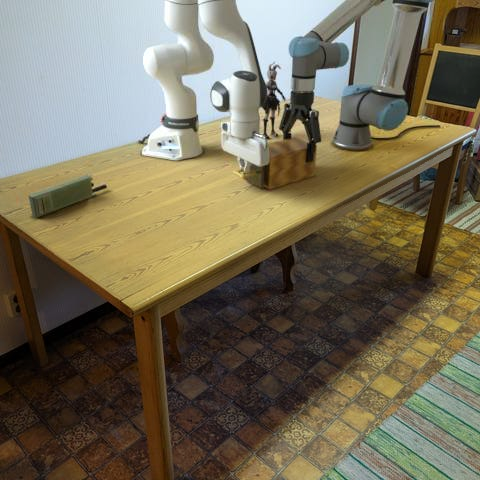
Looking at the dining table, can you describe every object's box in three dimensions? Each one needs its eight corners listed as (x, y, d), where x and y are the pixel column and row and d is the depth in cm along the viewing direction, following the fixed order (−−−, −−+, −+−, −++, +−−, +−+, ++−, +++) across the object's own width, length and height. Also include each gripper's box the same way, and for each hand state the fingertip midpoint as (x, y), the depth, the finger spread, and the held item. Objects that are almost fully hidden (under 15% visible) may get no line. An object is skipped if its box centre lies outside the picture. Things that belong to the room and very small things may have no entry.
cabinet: (269, 189, 162) (271, 157, 156) (249, 179, 169) (249, 147, 164) (314, 175, 172) (316, 145, 167) (293, 166, 180) (295, 136, 174)
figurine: (261, 141, 202) (264, 63, 188) (251, 138, 206) (252, 61, 192) (286, 134, 211) (290, 59, 196) (276, 131, 215) (279, 57, 200)
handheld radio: (30, 215, 144) (102, 188, 161) (37, 219, 142) (109, 191, 159) (26, 193, 140) (100, 168, 157) (33, 197, 138) (107, 171, 155)
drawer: (246, 192, 157) (246, 165, 153) (228, 183, 164) (228, 156, 159) (304, 175, 170) (306, 149, 166) (285, 167, 176) (286, 142, 172)
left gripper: (275, 134, 147) (273, 179, 153) (233, 119, 161) (233, 160, 168) (258, 138, 143) (257, 183, 150) (217, 122, 158) (218, 164, 164)
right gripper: (337, 96, 154) (330, 164, 165) (287, 82, 170) (283, 145, 181) (319, 99, 150) (313, 169, 161) (270, 85, 167) (267, 149, 177)
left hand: (244, 171), depth 159 cm, fingers closed
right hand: (297, 156), depth 171 cm, fingers closed on cabinet, 11 cm apart
